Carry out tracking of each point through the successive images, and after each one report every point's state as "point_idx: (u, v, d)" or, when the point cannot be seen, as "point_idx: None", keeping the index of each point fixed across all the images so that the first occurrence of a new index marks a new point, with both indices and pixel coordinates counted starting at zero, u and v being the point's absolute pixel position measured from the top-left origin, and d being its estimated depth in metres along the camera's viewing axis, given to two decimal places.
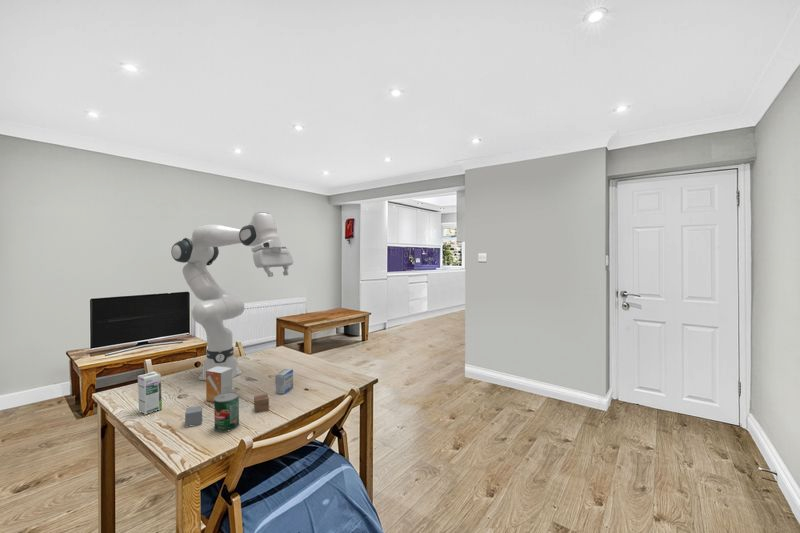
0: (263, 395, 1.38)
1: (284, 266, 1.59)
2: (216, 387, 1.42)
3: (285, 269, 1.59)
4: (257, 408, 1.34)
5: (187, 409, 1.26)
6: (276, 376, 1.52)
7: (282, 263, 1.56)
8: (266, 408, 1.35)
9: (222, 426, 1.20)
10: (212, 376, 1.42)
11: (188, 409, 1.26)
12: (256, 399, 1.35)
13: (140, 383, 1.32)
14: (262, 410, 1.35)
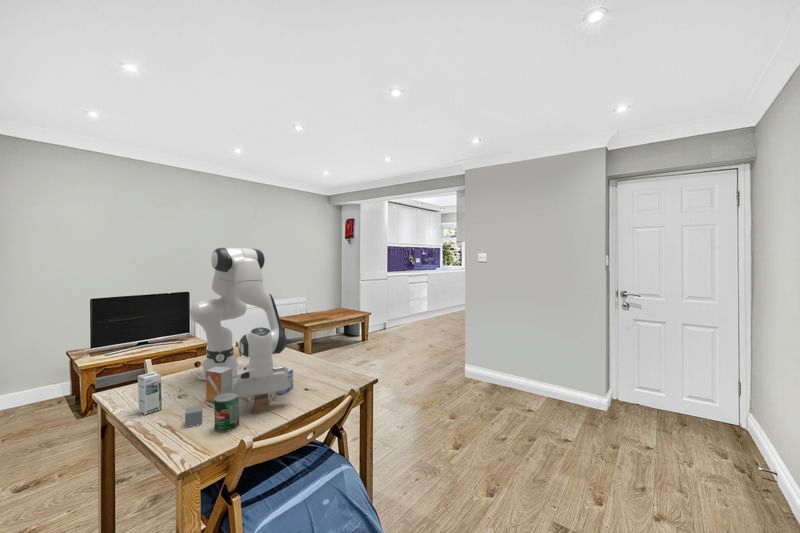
0: (263, 395, 1.38)
1: (271, 391, 1.38)
2: (216, 387, 1.42)
3: (271, 395, 1.39)
4: (257, 408, 1.34)
5: (187, 409, 1.26)
6: None
7: (268, 391, 1.36)
8: (266, 408, 1.35)
9: (222, 426, 1.20)
10: (212, 376, 1.42)
11: (188, 409, 1.26)
12: (256, 399, 1.35)
13: (140, 383, 1.32)
14: (262, 410, 1.35)
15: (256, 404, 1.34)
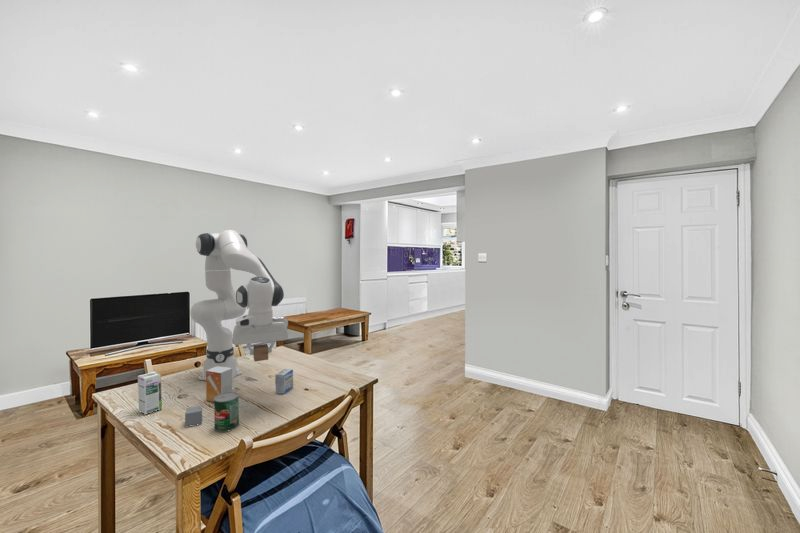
0: (263, 345, 1.37)
1: (270, 341, 1.38)
2: (216, 387, 1.42)
3: (271, 345, 1.38)
4: (256, 356, 1.33)
5: (187, 409, 1.26)
6: (276, 376, 1.52)
7: (267, 340, 1.35)
8: (265, 357, 1.35)
9: (222, 426, 1.20)
10: (212, 376, 1.42)
11: (188, 409, 1.26)
12: (255, 347, 1.34)
13: (140, 383, 1.32)
14: (262, 359, 1.34)
15: (255, 352, 1.33)
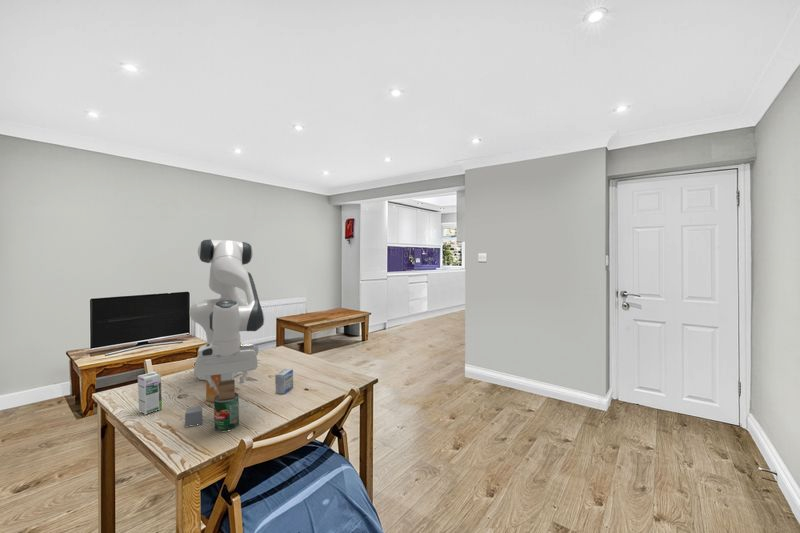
0: (229, 381, 1.24)
1: None
2: (216, 387, 1.42)
3: (243, 374, 1.25)
4: (221, 395, 1.20)
5: (187, 409, 1.26)
6: (276, 376, 1.52)
7: (234, 371, 1.22)
8: (231, 395, 1.21)
9: (222, 426, 1.20)
10: (212, 376, 1.42)
11: (188, 409, 1.26)
12: (220, 385, 1.21)
13: (140, 383, 1.32)
14: (227, 397, 1.21)
15: (220, 390, 1.20)
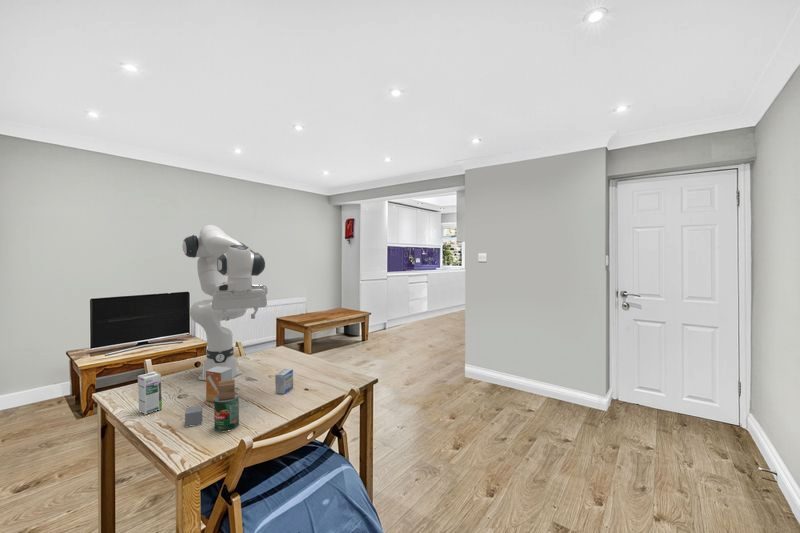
0: (229, 381, 1.24)
1: (254, 308, 1.42)
2: (216, 387, 1.42)
3: (254, 311, 1.42)
4: (221, 395, 1.20)
5: (187, 409, 1.26)
6: (276, 376, 1.52)
7: (246, 306, 1.39)
8: (231, 395, 1.21)
9: (222, 426, 1.20)
10: (212, 376, 1.42)
11: (188, 409, 1.26)
12: (220, 385, 1.21)
13: (140, 383, 1.32)
14: (227, 397, 1.21)
15: (220, 390, 1.20)
